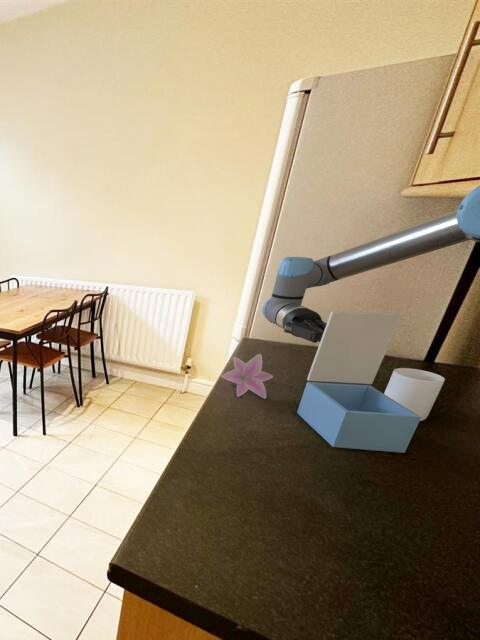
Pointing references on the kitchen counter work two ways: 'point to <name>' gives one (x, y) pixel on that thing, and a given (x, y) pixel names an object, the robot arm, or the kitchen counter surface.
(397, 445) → the case
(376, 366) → the case lid
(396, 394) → the cup
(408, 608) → the kitchen counter surface
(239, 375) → the lily
